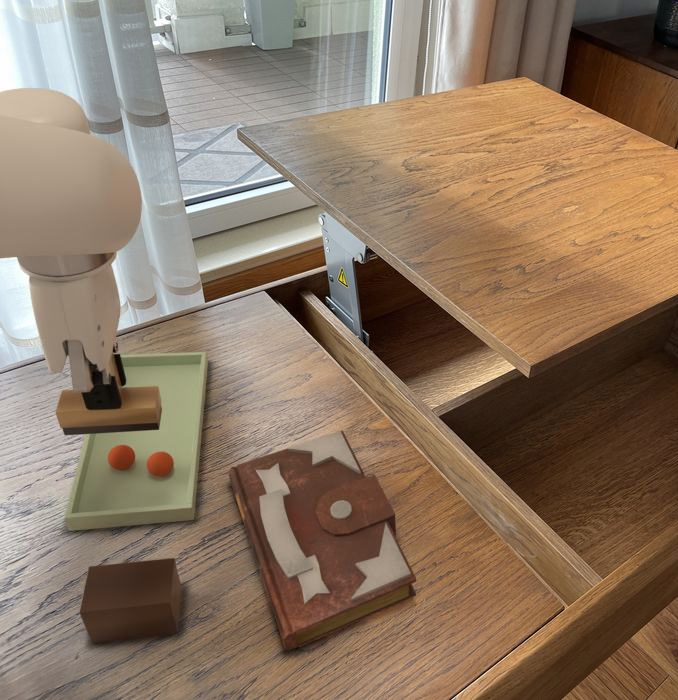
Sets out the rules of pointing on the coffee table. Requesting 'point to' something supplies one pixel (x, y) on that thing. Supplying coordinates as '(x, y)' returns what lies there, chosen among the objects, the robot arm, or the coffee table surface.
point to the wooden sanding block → (111, 410)
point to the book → (321, 538)
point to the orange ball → (121, 457)
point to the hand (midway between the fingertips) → (107, 394)
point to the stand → (131, 600)
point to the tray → (146, 451)
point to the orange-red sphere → (160, 464)
